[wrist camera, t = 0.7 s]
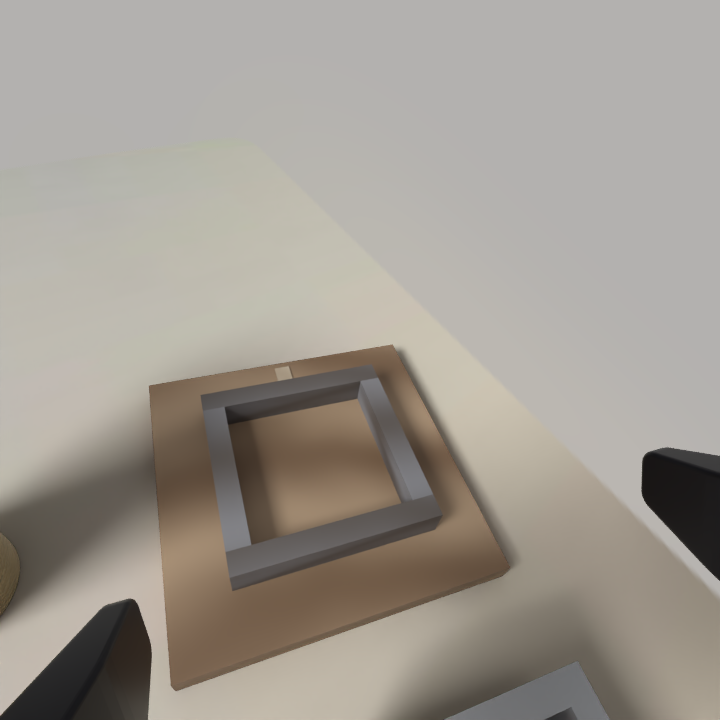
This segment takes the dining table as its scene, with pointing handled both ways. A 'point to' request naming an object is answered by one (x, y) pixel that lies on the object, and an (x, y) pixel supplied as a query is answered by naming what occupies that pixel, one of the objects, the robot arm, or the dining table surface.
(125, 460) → the dining table surface
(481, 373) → the dining table surface
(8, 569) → the brass billet
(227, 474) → the brown board with frame
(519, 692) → the button housing
